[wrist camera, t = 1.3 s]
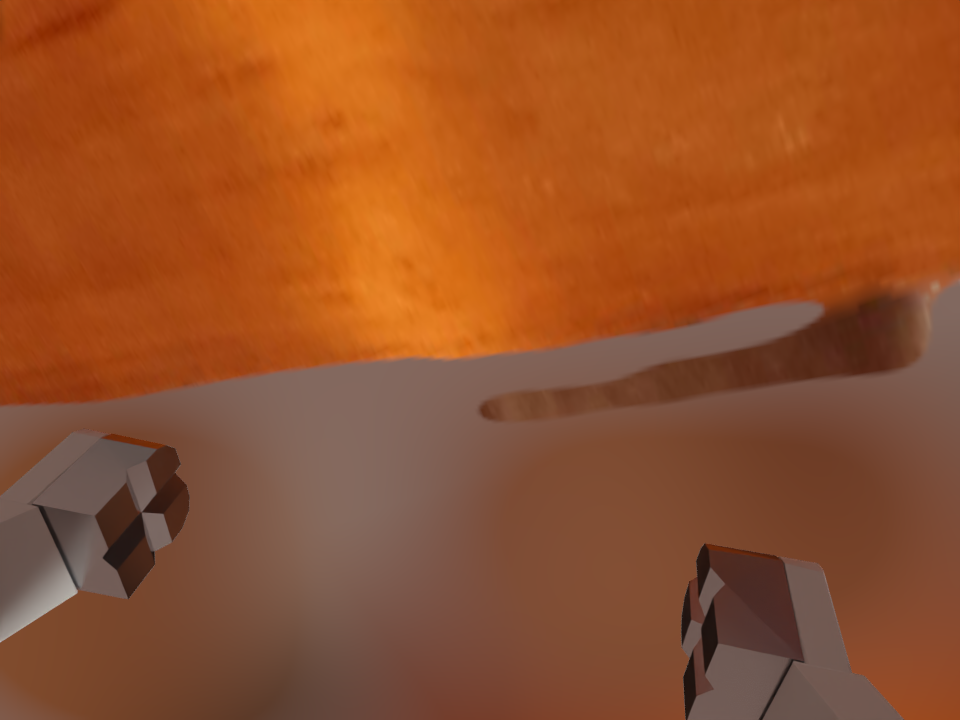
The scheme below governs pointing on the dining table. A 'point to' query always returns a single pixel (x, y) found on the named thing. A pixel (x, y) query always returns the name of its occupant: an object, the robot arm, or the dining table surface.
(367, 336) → the dining table surface
